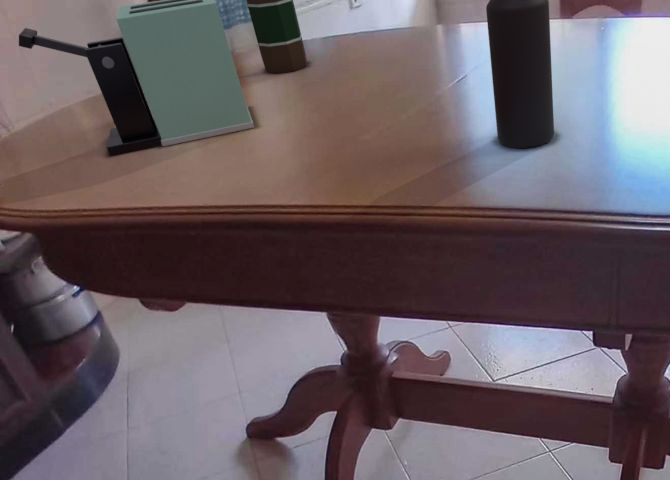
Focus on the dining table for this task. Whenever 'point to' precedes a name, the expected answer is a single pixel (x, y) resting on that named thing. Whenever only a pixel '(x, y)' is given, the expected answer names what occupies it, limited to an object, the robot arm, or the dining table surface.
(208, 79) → the toaster
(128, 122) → the lever bracket
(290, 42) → the beer bottle
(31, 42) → the toaster lever
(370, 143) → the dining table surface
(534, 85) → the vinegar
